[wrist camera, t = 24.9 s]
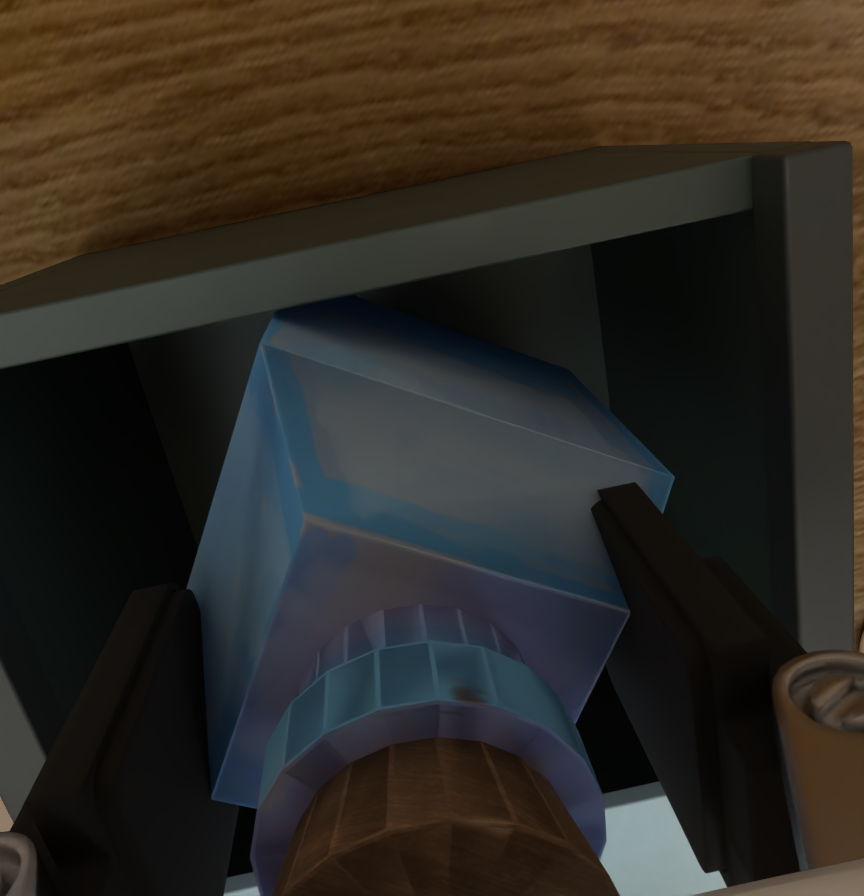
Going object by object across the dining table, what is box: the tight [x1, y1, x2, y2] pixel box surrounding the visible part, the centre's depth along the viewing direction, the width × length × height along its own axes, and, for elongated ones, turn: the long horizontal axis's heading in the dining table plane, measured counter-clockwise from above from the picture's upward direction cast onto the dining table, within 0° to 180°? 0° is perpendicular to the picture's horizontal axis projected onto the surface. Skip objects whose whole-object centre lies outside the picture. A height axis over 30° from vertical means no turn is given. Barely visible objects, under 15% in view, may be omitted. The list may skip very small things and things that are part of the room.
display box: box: [0, 141, 854, 878], centre depth 19 cm, size 16×15×12 cm
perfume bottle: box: [187, 295, 675, 896], centre depth 12 cm, size 6×6×12 cm
